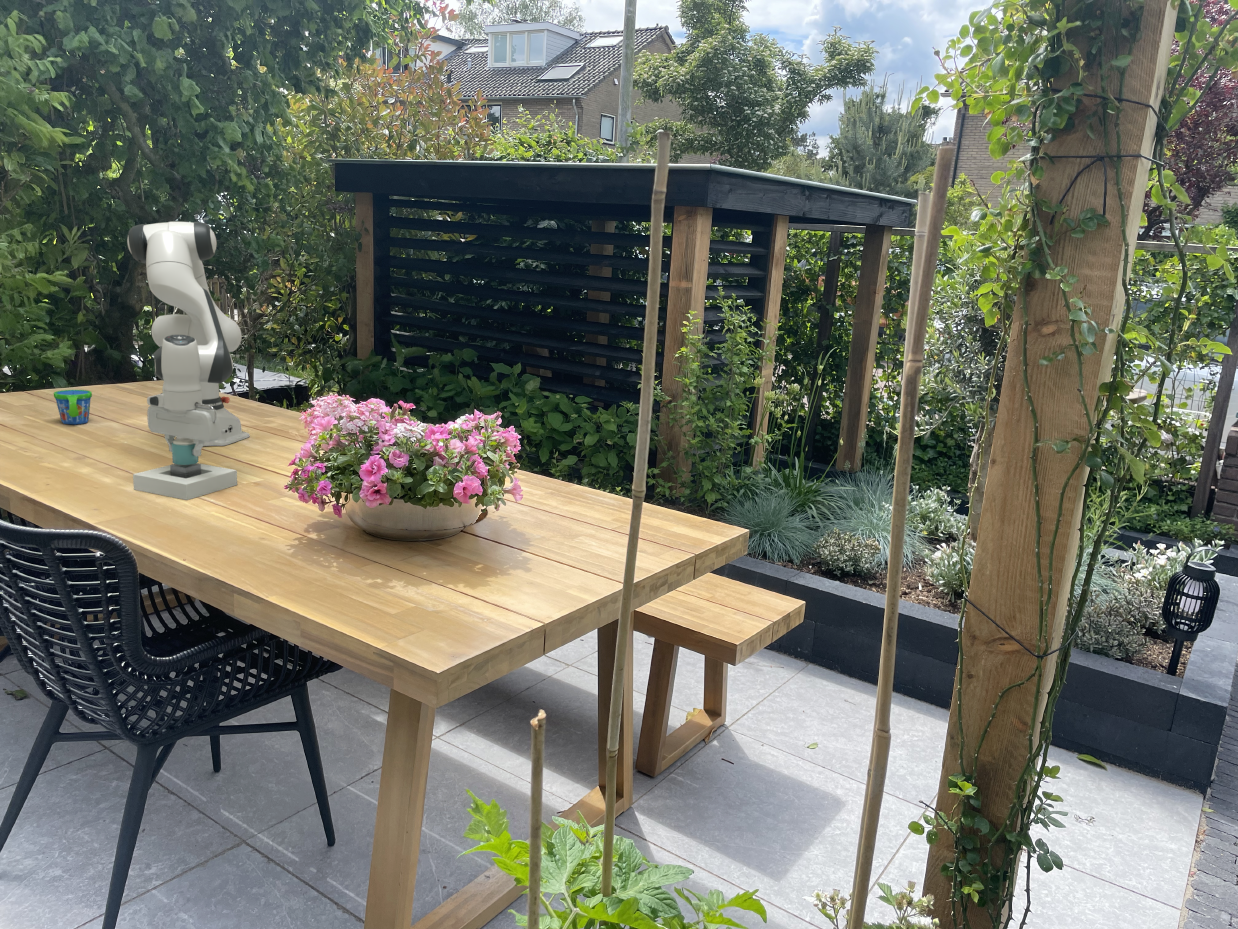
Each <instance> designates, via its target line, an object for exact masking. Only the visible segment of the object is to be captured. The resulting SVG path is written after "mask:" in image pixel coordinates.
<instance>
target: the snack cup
mask: <svg viewBox="0 0 1238 929" xmlns="http://www.w3.org/2000/svg"><path fill="white" fill-rule="evenodd" d="M53 397H54V399H55V401H56V406H57V410H58V413H59V414H58V415H59V418H60V420H61V423H63V425H81V424H83V425H84V424H87V423H88V422H89V419H90V412H91V410H90V409H91V399H92V397H93V392H92V391H90V390H86V389H65V390H62V389H61V390H57V391H54V392H53Z"/></svg>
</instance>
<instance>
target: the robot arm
mask: <svg viewBox="0 0 1238 929" xmlns="http://www.w3.org/2000/svg"><path fill="white" fill-rule="evenodd" d="M126 241H127V248H128V250H129V252H130V254H131V256H132V258H133V260H134V259H135V261H137V262H138V263H142V264H145V265H146V266H145V267H146V277H147V283H148V287H149V290H150V291H151V292H152V294H153V295H154V296H155V297H156V298H157V299H158V300H160V301H162V302H163V303H165V304H167V305H169V306H172V307H175V308H178V309H179V310H181V311H183V312H184V314H179V313H172V314H165V315H158V317H156V319H155V320H154V321H153V323H152V326H151V330H150V331H151V332H150V334H151V337H152V339H153V341H154V343H155V344H156V345H157V346H158V347H159V348H157V349H156V350H155V351H154V352H153V358H154V369H155V370H154V376H156V377H158V378H159V379H160V380H161V381H163V383H162V392H161V393H159V394H155V395H150V396H147V398H146V403H147V406H148V408H147V412H146V413H147V414H146V415H147V427H148V429H149V431H150V432H151V433H155V434H156V433H157V434H160V435H161V434H162V435H164V439H165V441H166V443H167V445H168V451H169V453H170V452H171V453H172V442H173V440H175V438H176V439H181V438H189V439H194V443H195V444H196V445H195V448H194V449H191V452H192V453H191V454H192V456H198V457H201V455H202V449H203V447H210V446H211V447H212V446H216V447H217V446H218V447H220V446H222V447H223V446H228V445H230V444H233V443H236V442H239V441H242V440H245V439H248V438H250V437H251V435H250V433H249V432H247V431H243V430H242V422H241V420H240V418H239V417H238V416H236V415H235V414H233V413H232V412H231V411H229V410H228V409H226V408H225V405H224V404H230V402H231V400H230V399H231V398H230V397H229V396H220V387H219V386H220V384H223V383H225V381H227V380H228V379H229V378H230V377H231V376H232V375H233V370H234V362H233V359H232V358H233V357H232V356H231V352H232V353H233V352H234V351H236V350H237V349H238V348H239V346H240V345H241V343H242V342H241V341H242V337H243V336H242V331H241V328H240V326H239V325H238V323H237V322H236V321H235V320H233V319H231V318H230V317H229V316H228V315H226V314H224V312H223V311H221V309H220V308H219V307H218V306H217V304H216V302H215V301H214V299H213V298H212V296H211V293H210V289H209V286H208V282H207V277H206V273H205V268H204V264H203V261H204V262H205V261H206V260H210V259H212V258H213V257H214V256H215V254H216V249H217V245H218V244H217V238H216V235H215V232H214V231H213V230H212V227H211V226H210V225H209V224H207V223H206V222H201V221H194V222H190V221H168V222H156V223H150V224H144V223H142V224H137V225H133V226H132V227H131V228H130V229H129V230H128V233H127V240H126Z"/></svg>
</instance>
